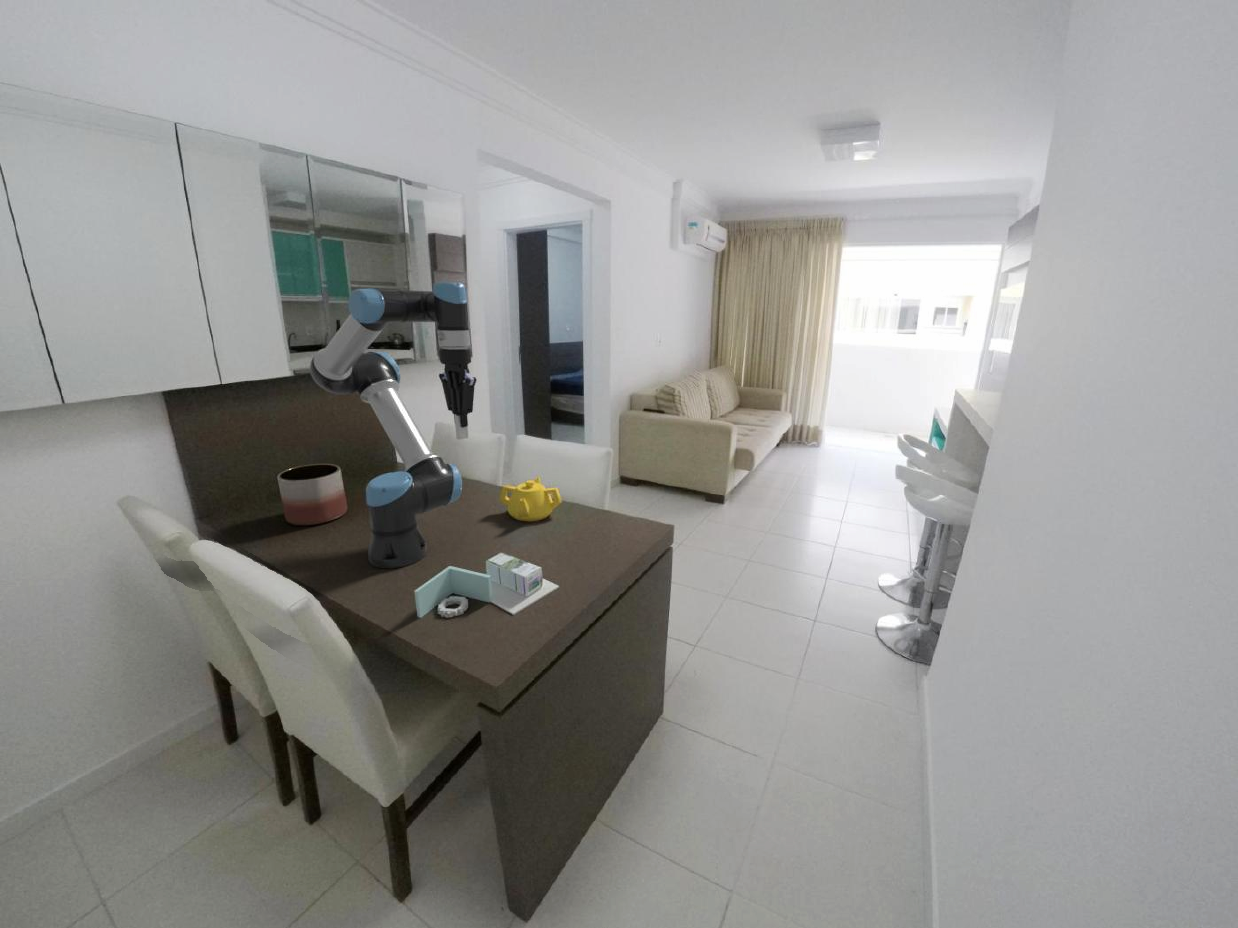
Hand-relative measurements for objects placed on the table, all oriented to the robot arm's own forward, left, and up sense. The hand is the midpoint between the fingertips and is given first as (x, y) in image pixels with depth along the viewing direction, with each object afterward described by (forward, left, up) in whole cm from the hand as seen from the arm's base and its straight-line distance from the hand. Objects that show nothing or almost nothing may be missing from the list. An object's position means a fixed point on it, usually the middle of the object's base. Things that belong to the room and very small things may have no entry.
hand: (462, 438), depth 129 cm
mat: (+24, -5, -34) cm, 42 cm away
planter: (-61, -17, -35) cm, 72 cm away
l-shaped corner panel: (+19, -19, -35) cm, 44 cm away
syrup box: (+15, -4, -31) cm, 35 cm away
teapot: (-8, +30, -35) cm, 47 cm away
